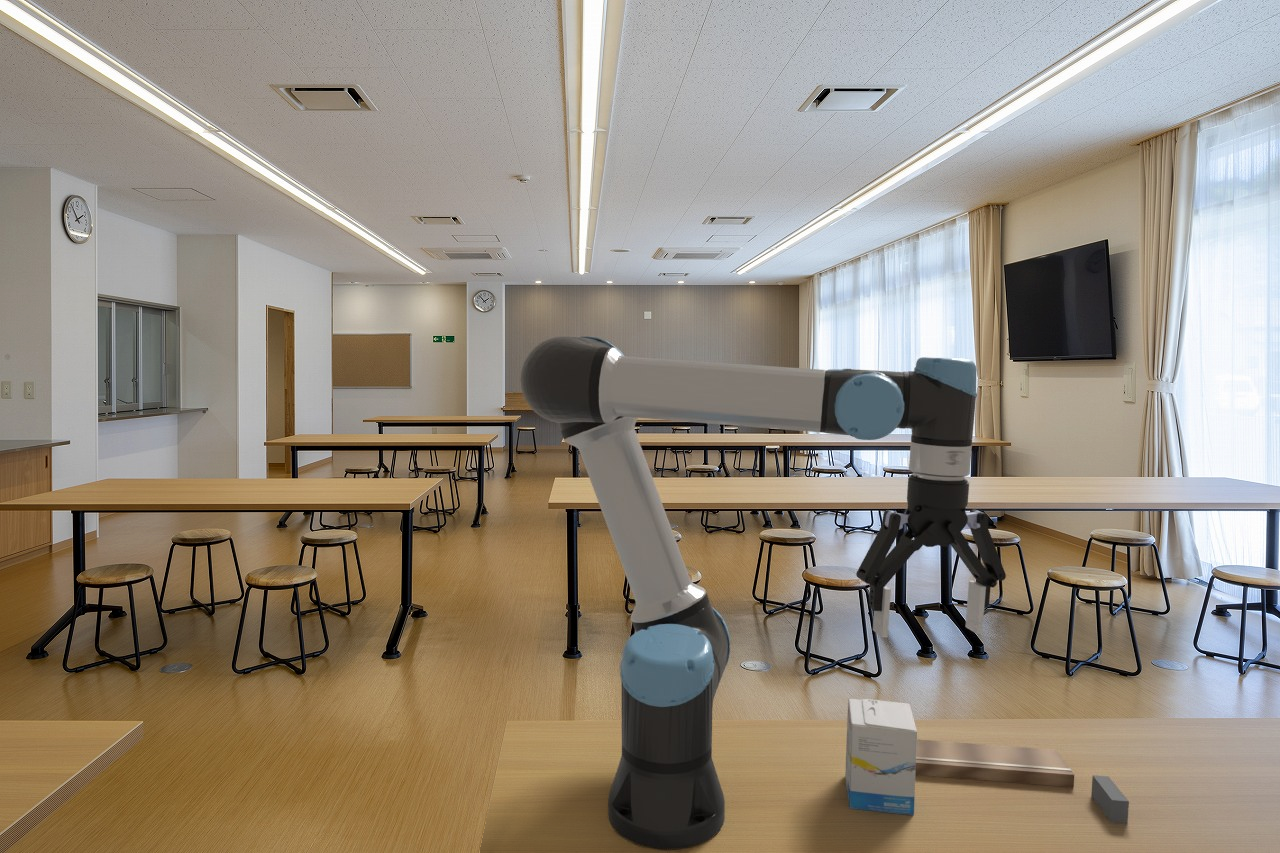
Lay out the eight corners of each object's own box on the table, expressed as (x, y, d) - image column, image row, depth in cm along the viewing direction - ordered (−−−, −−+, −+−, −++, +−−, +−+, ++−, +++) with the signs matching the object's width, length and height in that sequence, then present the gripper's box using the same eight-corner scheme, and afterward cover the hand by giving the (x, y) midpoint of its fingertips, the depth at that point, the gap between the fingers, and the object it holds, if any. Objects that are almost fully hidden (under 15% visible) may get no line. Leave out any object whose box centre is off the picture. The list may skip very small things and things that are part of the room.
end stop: (1110, 822, 101) (1112, 800, 101) (1091, 796, 107) (1092, 775, 107) (1127, 823, 101) (1128, 801, 101) (1107, 797, 107) (1108, 776, 107)
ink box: (915, 816, 102) (919, 730, 101) (848, 809, 104) (850, 724, 103) (906, 781, 111) (910, 701, 110) (844, 774, 113) (847, 695, 111)
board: (879, 771, 113) (879, 759, 113) (872, 747, 120) (873, 735, 120) (1073, 787, 109) (1074, 774, 109) (1055, 761, 116) (1055, 748, 116)
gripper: (862, 480, 98) (852, 646, 100) (1043, 480, 102) (1029, 639, 104) (837, 470, 105) (828, 625, 107) (1006, 471, 109) (994, 619, 112)
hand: (927, 632), depth 106 cm, fingers open, 13 cm apart
